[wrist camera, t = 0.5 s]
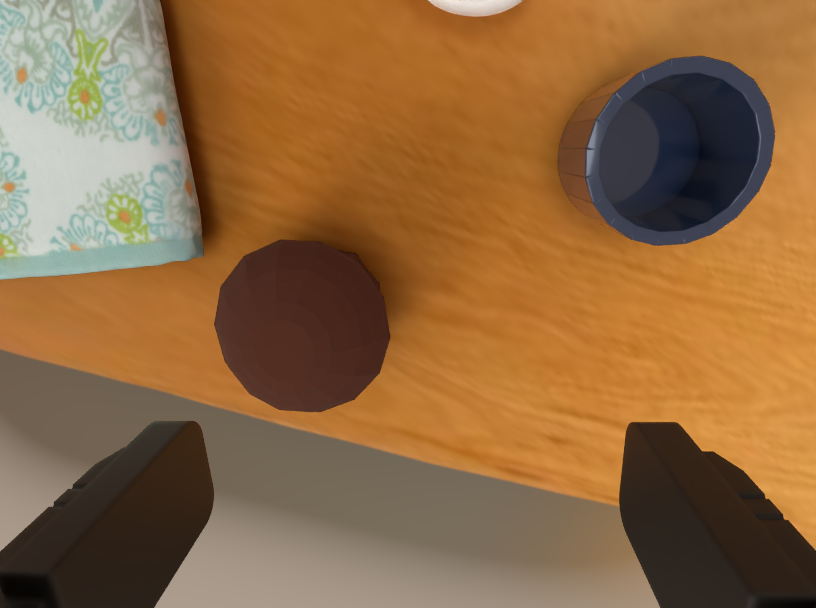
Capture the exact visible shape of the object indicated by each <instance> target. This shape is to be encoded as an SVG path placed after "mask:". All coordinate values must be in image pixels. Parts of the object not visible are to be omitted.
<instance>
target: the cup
mask: <svg viewBox="0 0 816 608" xmlns="http://www.w3.org/2000/svg"><path fill="white" fill-rule="evenodd" d="M774 133H775V130H774V124H773V119H772V114H771V109H770V106H769V103H768V101H767V100H766V98H765V96H764V95H763V93H762V92H761V90H760V88H759V87H758V85H757V84H756V82H755V81H754V79H752V78H751V77H750V76H748V75H747V74H745V73H744V72H743V71H741V70H740V69H738V68H737V67H736V66H734V65H733V64H731V63H729V62H725V61H721V60H717V59H713V58H709V57H705V56H692V57H681V58H671V59H668V60H665V61H663V62H660V63H658V64H655V65H652V66H650V67H647V68H645V69H642V70H640V71H637V72H635V73H632V74H630V75H627V76H625V77H622V78H620V79H618V80H615V81H613V82H611V83H608V84H606V85H604V86H602V87H601V88H599V89H598V90H596V91H595V92H594V93H592V94H591V95H590V96H588V97H587V98H586V99H585V100H584V101H583V102H582V103H581V104H580V106H579V107H578V108H577V109H576V110H575V112H574V113H573V115H572V116H571V118H570V119H569V121H568V123H567V125H566V127H565V129H564V132H563V135H562V138H561V141H560V146H559V151H558V170H559V176H560V180H561V183H562V186H563V189H564V191H565V193H566V195H567V196H568V198H569V199H570V201H571V202H572V203H573V204H574V206H575V207H576V208H577V209H578V210H579V211H581V212H582V213H583V214H584V215H586V216H588V217H589V218H591V219H592V220H594V221H595V222H597V223H599V224H601V225H603V226H605V227H607V228H609V229H611V230H613V231H615V232H617V233H619V234H621V235H623V236H625V237H627V238H629V239H631V240H635V241H639V242H643V243H647V244H651V245H655V246H656V245H657V246H661V245H677V244H686V243H689V242H692V241H695V240H698V239H701V238H703V237H706V236H709V235H712V234H714V233H715V232H716V231H718V230H719V229H721V228H722V227H724V226H725V225H727V224H728V223H729V222H731V221H732V220H734V219H735V218H737V217H738V215H739V214H740V213H741V212H742V211H743V210H744V208H745V207H746V206H747V205H748V204H749V203H750V201H751V200H752V199H753V198H754V197H755V195H756V194H757V192H759V190H760V188H761V186H762V184H763V181H764V179H765V177H766V175H767V173H768V171H769V168H770V166H771V164H770V163H771V162H772V154H773V147H774V140H775V134H774Z"/></svg>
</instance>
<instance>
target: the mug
mask: <svg viewBox="0 0 816 608" xmlns="http://www.w3.org/2000/svg"><path fill="white" fill-rule="evenodd" d="M428 1H429V2H430V3H431V4H433V5H434V6H436V7H438V8H440V9H442V10H444V11H447V12H450V13H453V14H457V15H463V16H474V17H479V16H489V15H494V14H498V13H501V12H504V11H507V10H509V9H511V8H513V7H514V6H516V5H518V4H519V3H520V2H522V1H523V0H428Z"/></svg>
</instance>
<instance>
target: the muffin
mask: <svg viewBox="0 0 816 608" xmlns="http://www.w3.org/2000/svg"><path fill="white" fill-rule="evenodd" d="M214 325H215V329H216V332H217V336H218V339H219V343H220V346H221V350H222V353H223V357H224V360H225V362H226V364H227V365H228V367H229V368H230V370H231V371H232V372H233V373H234V375H235V376H236V377H237V379H238V380H239V381H240V382H241V384H242V385H243V386H244V387H245V389H246V390H247V391H248V392H249V394H251V395H252V396H254V397H256V398H258V399H260V400H262V401H264V402H265V403H267V404H269V405H271V406H273V407H275V408H277V409H279V410H288V411H302V412H322V411H325V410H327V409H330V408H333V407H336V406H338V405H341V404H344V403H346V402H349V401H352V400H355V398H356V397H357V396H358V395H359V394H360V393H361V392H362V391H363V390H364V389H365V388H366V387H367V386H368V385H369V384H370V383H371V382H372V381H373V380H374V378H375V377H376V376H377V375H378V374H379V373H380V370H381V367H382V363H383V360H384V357H385V353H386V350H387V347H388V343H389V340H390V332H389V326H388V320H387V315H386V309H385V303H384V297H383V296H382V294H381V293H380V283H379V282H378V281H377V280H376V279H375V278H374V276H373V275H372V274H371V273H370V272H369V271H368V270H367V269H366V268H365V266H364V265H363V263H362V262H361V260H360V259H359V257H358V256H357V254H355V253H350V252H345V251H340V250H336V249H334V248H332V247H330V246H328V245H326V244H324V243H323V242H312V241H295V240H278V241H276V242H274V243H272V244H270V245H267V246H265V247H263V248H261V249H258V250H256V251H254V252H252V253H250V254H247V255H245V256H244V257H243V258H242V259H241V261H240V262H239V263H238V265H237V266H236V267H235V269H234V270H233V271H232V273H231V274H230V275H229V276H228V278H227V279H226V280H225V282H224V283H223V284H222V286H221V288H220V294H219V300H218V306H217V311H216V317H215V323H214Z"/></svg>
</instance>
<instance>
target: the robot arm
mask: <svg viewBox="0 0 816 608" xmlns="http://www.w3.org/2000/svg"><path fill="white" fill-rule="evenodd" d="M213 501H214V490H213V483H212V478H211V473H210V468H209V463H208V458H207V453H206V448H205V443H204V438H203V433H202V430H201V427H200V426H199V424H198V423H197V422H195V421H155V422H153V423H151V424H150V425H148V426H147V427H146V429H144V430H143V431H142V432H141V433H140V434H139V435H138V436H137V437H136V438H135V439H134V440H133V441H132V442H131V443H130V444H129V445H128V446H126V447H125V448H122V449H121V450H119V451H117V452H115V453H114V454H112V455H110V456H109V457H107V458H105V459H103V460H102V461H100V462H98V463H97V464H95V465H94V466H93V467H92V468H91V469H90V470H88V471H87V472H86V473H85V474H84V475H83V476H82V477H81V478H80V479H79V480H78V481H77V482H75V483H74V484H73V488H72V489H68V490H67V491H66V492H65V493H64V494H62V495H61V496H60V497H59V498H58V499H57V500H56V501H55V502H54V506H53V507H48V508H47V509H46V510H45V511H44V512H43V513H42V514H41V515H40V516H38V518H36V519H35V520H34V521H33V522H32V523H31V524H30V525H29V526H28V527H27V528H25V529H24V530H23V531H22V532H21V533H20V534H19V535H18V536H17V537H16V538H15V539H14V540H12V541H11V542H10V543H9V544H8V545H7V546H6V547H5V548H4V549H3V550H1V551H0V608H154V607H155V605H156V604H157V602H158V600H159V599H160V597H161V596H162V594H163V592H164V591H165V589H166V588H167V586H168V585H169V583H170V581H171V580H172V578H173V577H174V575H175V573H176V572H177V570H178V569H179V567H180V565H181V564H182V562H183V561H184V559H185V557H186V556H187V554H188V552H189V551H190V549H191V548H192V546H193V545H194V543H195V541H196V540H197V538H198V537H199V535H200V533H201V532H202V530H203V529H204V527H205V525H206V524H207V522H208V520H209V517H210V515H211V511H212V507H213ZM619 503H620V512H621V518H622V522H623V526H624V529H625V531H626V534H627V536H628V538H629V540H630V543H631V545H632V547H633V549H634V551H635V553H636V556H637V558H638V560H639V562H640V564H641V566H642V569H643V571H644V573H645V575H646V577H647V579H648V582H649V584H650V586H651V588H652V590H653V592H654V595H655V597H656V599H657V601H658V603H659V606H660V608H816V551H815V549H814V548H813V547H812V546H811V545H810V544H809V543H808V542H807V541H806V540H805V538H804V537H803V536H802V535H801V534H800V533H799V532H798V531H797V530H796V528H795V527H794V526H793V525H792V524H791V523H790V522H789V521H788V520H784V518H783V514H782V513H781V512H780V511H779V510H778V509H777V507H776V506H775V505H774V504H773V503H772V502H771V501H770V500H769V499H765V494H764V493H763V492H762V491H761V490H760V489H759V488H758V486H757V485H756V484H755V483H754V482H753V481H752V480H751V479H750V478H749V476H748V475H747V474H746V473H745V472H744V471H743V470H741V469H740V468H738V467H737V466H735V465H733V464H732V463H730V462H729V461H727V460H726V459H724V458H722V457H721V456H719V455H718V454H716V453H715V452H704V451H701V450H700V448H699V447H698V446H697V445H696V444H695V442H694V441H693V440H692V439H691V437H690V436H689V435H688V434H687V433H686V431H685V430H684V429H683V428H682V427H681V426H680V425H679V424H678V423H676V422H631V423H630V424H629V425H628V428H627V431H626V437H625V446H624V456H623V465H622V474H621V484H620V494H619Z"/></svg>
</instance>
